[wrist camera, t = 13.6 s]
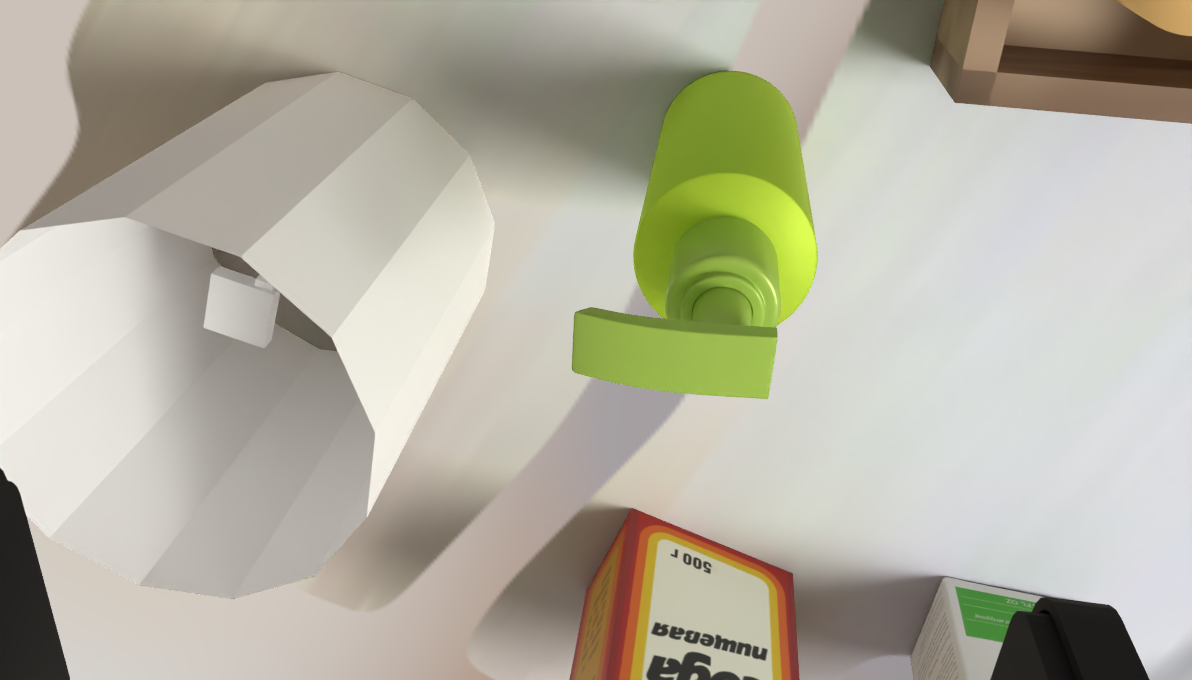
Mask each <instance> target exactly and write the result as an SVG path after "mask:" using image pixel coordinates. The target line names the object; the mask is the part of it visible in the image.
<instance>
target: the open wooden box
mask: <svg viewBox="0 0 1192 680" xmlns="http://www.w3.org/2000/svg"><path fill="white" fill-rule="evenodd" d="M930 67H931V69H932V70H933V72H934V73H935V74H936V76H937V77H938V79H939V80H940V82H941V83H942V85H943V86H944V88H945V89H946V90H947V92H948V93H949V95H950V96H951V98H952V99H953V101H954V102H955V103H965V104H977V105H988V106H999V107H1010V108H1022V109H1033V110H1044V111H1056V112H1067V113H1078V114H1089V115H1101V116H1112V117H1123V118H1135V119H1146V120H1157V121H1168V122H1180V123H1191V124H1192V36H1185V35H1179V34H1175V33H1172V32H1169V31H1166V30H1163V29H1161V28H1159V27H1157V26H1155V25H1154V24H1152V23H1151V22H1149V21H1147V20H1146V19H1144V18H1142V17H1141V16H1139V15H1138V14H1136V13H1134V12H1133V11H1131V10H1129V9H1128V8H1126V7H1124V6H1123V5H1121V4H1120V3H1118V2H1116V1H1115V0H944V4H943V9H942V14H941V18H940V23H939V28H938V32H937V37H936V42H935V46H934V51H933V56H932V60H931V65H930Z"/></svg>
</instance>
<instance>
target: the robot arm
mask: <svg viewBox="0 0 1192 680" xmlns="http://www.w3.org/2000/svg"><path fill="white" fill-rule="evenodd" d="M0 680H70V677H69V673H68V669H67V665H66V661H65V658H64V654H63V651H62V647H61V643H60V639H59V635H58V632H57V628H56V624H55V621H54V617H53V613H52V609H51V606H50V602H49V598H48V595H47V591H46V587H45V584H44V580H43V576H42V572H41V569H40V565H39V561H38V558H37V554H36V550H35V547H34V543H33V539H32V535H31V532H30V528H29V524H28V520H27V517H26V513H25V509H24V506H23V502H22V498H21V494H20V492H19V490H18V487H17V486H16V485H15V484H14V483H13V482H11V481H8V480H7V478H6V476H5V473H4V471H3V470H2V469H1V468H0ZM990 680H1149V678H1148V675H1147V673H1146V671H1145V669H1144V667H1143V665H1142V662H1141V660H1140V658H1139V656H1138V654H1137V652H1136V649H1135V647H1134V645H1133V643H1132V641H1131V638H1130V636H1129V634H1128V632H1127V630H1126V628H1125V625H1124V623H1123V621H1122V619H1121V617H1120V616H1119V614H1118V612H1117V611H1116V609H1114V608H1113V607H1111V606H1110V605H1105V604H1097V603H1089V602H1081V601H1073V600H1066V599H1058V598H1050V597H1043V598H1040V599H1039V600H1038V601H1037V602H1036V604H1035V606H1034V608H1033V610H1032V612H1028V611H1016V612H1015V613H1014V615H1013V616H1012V619H1011V621H1010V623H1009V626H1008V629H1007V632H1006V635H1005V638H1004V641H1003V644H1002V647H1001V650H1000V653H999V656H998V658H997V661H996V664H995V667H994V670H993V673H992V676H991V679H990Z"/></svg>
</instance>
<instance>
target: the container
mask: <svg viewBox="0 0 1192 680" xmlns="http://www.w3.org/2000/svg"><path fill="white" fill-rule="evenodd" d="M494 229H495V223H494V220H493V218H492V215H491V212H490V209H489V206H488V204H487V201H486V198H485V195H484V193H483V190H482V187H481V184H480V181H479V179H478V176H477V173H476V170H475V168H474V165H473V162H472V159H471V157H470V154H469V153H468V152H467V151H466V150H465V149H464V148H463V147H462V146H460V145H459V144H458V143H457V142H456V141H455V140H454V139H453V138H452V137H451V136H450V135H449V134H448V133H447V132H446V131H445V130H444V129H443V128H442V127H441V126H440V125H439V124H438V123H437V122H436V121H435V120H434V119H433V118H432V117H431V116H430V115H429V114H428V113H427V112H426V111H425V110H424V109H423V108H422V107H421V106H420V105H419V104H418V103H417V102H416V101H415V100H414V99H413V98H411V97H408V96H405V95H402V94H399V93H396V92H394V91H391V90H388V89H385V88H382V87H380V86H377V85H374V84H371V83H368V82H365V81H363V80H360V79H357V78H354V77H351V76H348V75H346V74H343V73H340V72H332V73H325V74H319V75H312V76H306V77H299V78H292V79H286V80H279V81H273V82H266V83H264V84H262V85H261V86H259V87H257V88H256V89H254V90H252V91H251V92H249V93H247V94H246V95H244V96H242V97H241V98H239V99H237V100H236V101H234V102H232V103H231V104H229V105H227V106H226V107H224V108H222V109H221V110H219V111H217V112H216V113H214V114H212V115H211V116H209V117H207V118H206V119H204V120H202V121H201V122H199V123H197V124H196V125H194V126H192V127H191V128H189V129H187V130H186V131H184V132H183V133H181V134H179V135H178V136H176V137H174V138H173V139H171V140H169V141H168V142H166V143H164V144H163V145H161V146H159V147H158V148H156V149H154V150H153V151H151V152H149V153H148V154H146V155H144V156H143V157H141V158H139V159H138V160H136V161H134V162H133V163H131V164H129V165H128V166H126V167H124V168H123V169H121V170H119V171H118V172H116V173H114V174H113V175H111V176H109V177H108V178H106V179H104V180H103V181H101V182H99V183H98V184H96V185H95V186H93V187H91V188H90V189H88V190H86V191H85V192H83V193H81V194H80V195H78V196H76V197H75V198H73V199H71V200H70V201H68V202H66V203H65V204H63V205H61V206H60V207H58V208H56V209H55V210H53V211H51V212H50V213H48V214H46V215H45V216H43V217H41V218H40V219H38V220H36V221H35V222H33V223H31V224H30V225H28V226H26V227H25V228H23V229H21V230H20V231H19V232H18V233H17V234H15V235H14V236H13V237H12V238H11V239H10V240H9V241H8V242H7V243H6V244H5V245H4V246H2V247H1V248H0V468H1V469H2V470H3V471H4V473H5V476H6V478H7V480H8V481H11V482H13V483H14V484H15V485H16V486H17V487H18V490H19V492H20V494H21V498H22V502H23V506H24V509H25V513H26V515H27V516H28V517H29V518H30V519H31V520H32V521H33V522H34V523H35V524H36V525H37V526H38V527H39V528H40V529H41V530H42V531H43V533H44V534H45V535H46V536H47V537H48V538H50V539H51V540H53V541H55V542H57V543H59V544H61V545H63V546H65V547H67V548H69V549H71V550H72V551H74V552H76V553H78V554H80V555H82V556H84V557H86V558H88V559H90V560H92V561H94V562H96V563H97V564H99V565H101V566H103V567H105V568H107V569H109V570H111V571H113V572H115V573H117V574H119V575H121V576H122V577H124V578H126V579H128V580H130V581H132V582H134V583H136V584H138V585H140V586H148V587H154V588H161V589H168V590H175V591H181V592H188V593H195V594H202V595H209V596H216V597H222V598H229V599H235V598H238V597H242V596H245V595H249V594H252V593H256V592H260V591H263V590H267V589H271V588H274V587H278V586H281V585H285V584H289V583H292V582H296V581H299V580H303V579H307V578H310V577H314V576H315V575H316V574H317V573H318V571H319V570H320V569H321V568H322V567H323V566H324V565H325V564H326V563H327V562H328V560H329V559H330V558H331V557H332V556H333V555H334V554H335V553H336V552H337V551H338V549H339V548H340V547H341V546H342V545H343V544H344V543H345V542H346V541H347V540H348V538H349V537H350V536H351V535H352V534H353V533H354V532H355V531H356V530H357V529H358V527H359V526H360V525H361V524H362V523H363V522H364V521H365V520H366V519H367V517H368V515H369V513H370V511H371V509H372V507H373V505H374V503H375V501H376V499H377V497H378V495H379V494H380V492H381V490H382V488H383V486H384V484H385V482H386V480H387V478H388V476H389V474H390V472H391V470H392V468H393V467H394V465H395V463H396V461H397V459H398V457H399V455H400V453H401V451H402V449H403V447H404V445H405V443H406V441H407V440H408V438H409V436H410V434H411V432H412V430H413V428H414V426H415V424H416V422H417V420H418V418H419V416H420V414H421V413H422V411H423V409H424V407H425V405H426V403H427V401H428V399H429V397H430V395H431V393H432V391H433V389H434V387H435V386H436V384H437V382H438V380H439V378H440V376H441V374H442V372H443V370H444V368H445V366H446V364H447V362H448V360H449V359H450V357H451V355H452V353H453V351H454V349H455V347H456V345H457V343H458V341H459V339H460V337H461V335H462V333H463V332H464V330H465V328H466V326H467V324H468V322H469V320H470V318H471V316H472V314H473V312H474V310H475V308H476V306H477V305H478V303H479V301H480V299H481V297H482V295H483V293H484V291H485V287H486V280H487V274H488V267H489V261H490V254H491V248H492V241H493V235H494ZM212 247H213V248H216V249H219V250H221V251H224V252H227V253H230V254H233V255H236V256H239V257H241V258H242V259H243V260H244V261H245V262H246V263H248V264H249V265H250V266H251V267H252V268H253V269H254V270H256V271H257V272H258V273H259V274H260V275H259V276H258V277H257V278H254V277H251V276H248V275H245V274H242V273H239V272H236V271H233V270H230V269H227V268H224V267H221V266H220V264H219V263H218V262H217V260H216V259H215V258H214V254H213V250H212ZM280 293H282V294H283V295H284V296H285V297H286V298H287V299H288V300H290V301H291V302H292V303H293V304H294V305H295V306H296V307H297V308H299V309H300V310H301V311H302V312H303V313H304V314H305V315H307V316H308V317H309V318H310V319H311V320H312V321H313V322H314V323H316V324H317V325H318V326H319V327H320V328H321V329H322V330H324V331H325V332H326V333H327V334H328V335H329V336H330V337H331V338H332V340H333V342H334V344H335V346H336V348H337V350H338V351H330V350H322V349H318V348H316V347H315V346H313V345H311V344H309V343H308V342H306V341H304V340H303V339H301V338H299V337H297V336H296V335H294V334H292V333H290V332H289V331H287V330H285V329H283V328H282V327H280V326H278V325H277V324H275V319H276V314H277V309H278V303H279V298H280Z"/></svg>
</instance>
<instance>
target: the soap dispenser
mask: <svg viewBox="0 0 1192 680" xmlns="http://www.w3.org/2000/svg"><path fill="white" fill-rule="evenodd" d="M633 257H634V269H635V274H636V278H637V281H638V284H639V286H640V288H641V291H642V293H643V295H644V296H645V298H646V300H647V301H648V302H649V304H650V305H651V306H652V308H653V309H654V310H655V311H656V312H657V313H658V314H659V315H660V316H661V317H663V319H660V318H652V317H644V316H637V315H630V314H624V313H618V312H613V311H608V310H603V309H598V308H592V307H591V308H587V309H583V310H580V311H577V312H575V315H574V331H573V353H572V370H573V371H574V372H575V373H578V374H581V375H585V376H589V377H593V378H597V379H601V380H605V381H610V382H614V383H618V384H623V385H628V386H634V387H639V388H645V389H652V390H659V391H667V392H676V393H686V394H698V395H711V396H726V397H743V398H761V399H768V396H769V390H770V383H771V377H772V370H773V364H774V357H775V351H776V344H777V328H776V326H777V325H778V324H780V323H781V322H783V321H784V320H785V319H787V318H788V317H789V316H790V315H791V314H792V313H793V312H794V311H795V310H796V309H797V308H798V307H799V306H800V304H801V303H802V302H803V300H804V299H805V297H806V295H807V294H808V292H809V290H810V288H811V285H812V283H813V280H814V277H815V273H816V267H817V243H816V237H815V231H814V225H813V219H812V213H811V207H810V201H809V195H808V189H807V183H806V177H805V171H804V165H803V159H802V153H801V147H800V141H799V135H798V129H797V123H796V119H795V116H794V113H793V111H792V109H791V106H790V105H789V103H788V101H787V100H786V98H785V97H784V96H783V95H782V94H781V92H780V91H779V90H778V89H777V88H776V87H774V86H773V85H772V84H770V83H769V82H767V81H766V80H764V79H762V78H760V77H758V76H755V75H752V74H749V73H745V72H738V71H723V72H717V73H713V74H709V75H706V76H704V77H701V78H699V79H697V80H696V81H694V82H692V83H691V84H689V85H688V86H687V87H685V88H684V89H683V90H682V91H681V92H680V93H679V94H678V95H677V96H676V98H675V99H674V100H673V102H672V103H671V105H670V107H669V108H668V110H667V113H666V115H665V118H664V121H663V125H662V129H661V133H660V137H659V141H658V146H657V150H656V154H655V158H654V163H653V167H652V171H651V175H650V179H649V184H648V188H647V192H646V196H645V201H644V205H643V209H642V213H641V217H640V222H639V226H638V230H637V234H636V239H635V244H634V254H633Z"/></svg>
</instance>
